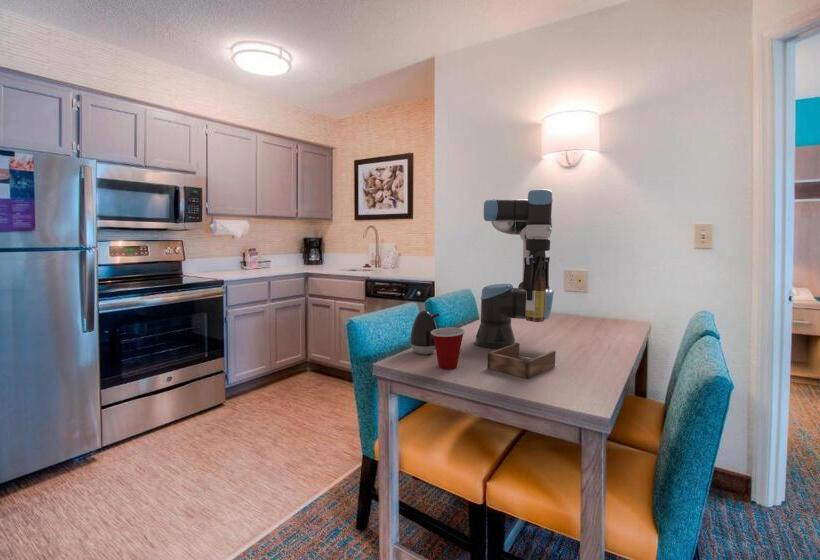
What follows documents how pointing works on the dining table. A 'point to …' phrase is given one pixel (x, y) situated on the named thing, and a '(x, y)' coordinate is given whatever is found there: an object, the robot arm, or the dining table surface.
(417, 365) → the dining table surface
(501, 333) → the robot arm
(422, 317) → the pump dispenser
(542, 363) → the frame
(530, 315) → the sauce bottle
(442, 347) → the plastic cup
